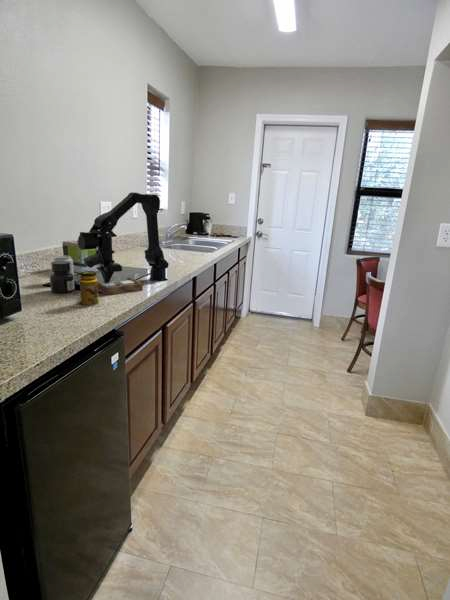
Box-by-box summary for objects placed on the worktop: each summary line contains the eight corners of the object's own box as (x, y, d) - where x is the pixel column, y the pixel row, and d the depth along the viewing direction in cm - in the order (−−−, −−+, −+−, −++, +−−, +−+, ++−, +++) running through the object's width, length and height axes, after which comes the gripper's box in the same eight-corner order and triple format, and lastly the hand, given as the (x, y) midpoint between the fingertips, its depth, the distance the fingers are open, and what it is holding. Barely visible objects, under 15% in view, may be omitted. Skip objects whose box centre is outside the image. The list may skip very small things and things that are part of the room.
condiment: (98, 306, 127) (96, 274, 123) (73, 307, 125) (71, 274, 121) (100, 300, 133) (99, 270, 130) (76, 301, 131) (74, 269, 128)
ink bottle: (75, 293, 140) (73, 264, 137) (51, 295, 137) (48, 265, 133) (74, 287, 149) (72, 259, 145) (50, 289, 145) (48, 260, 141)
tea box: (99, 271, 181) (97, 242, 176) (82, 274, 173) (80, 244, 168) (80, 267, 188) (78, 239, 184) (63, 269, 180) (61, 240, 176)
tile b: (111, 289, 151) (111, 282, 150) (116, 291, 147) (116, 284, 146) (100, 290, 148) (99, 283, 147) (104, 293, 144) (104, 286, 143)
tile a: (130, 286, 156) (130, 280, 155) (135, 289, 152) (134, 282, 152) (119, 287, 153) (119, 281, 152) (124, 290, 149) (123, 283, 149)
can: (67, 285, 151) (65, 258, 148) (52, 284, 152) (49, 256, 149) (77, 282, 158) (76, 255, 155) (63, 280, 159) (60, 254, 156)
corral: (129, 284, 159) (129, 277, 158) (142, 290, 150) (142, 283, 150) (94, 288, 149) (94, 281, 148) (106, 295, 140) (106, 288, 139)
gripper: (77, 245, 147) (79, 281, 151) (94, 252, 133) (96, 292, 138) (103, 244, 154) (104, 279, 158) (122, 250, 140) (123, 288, 145)
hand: (106, 284), depth 150 cm, fingers closed
